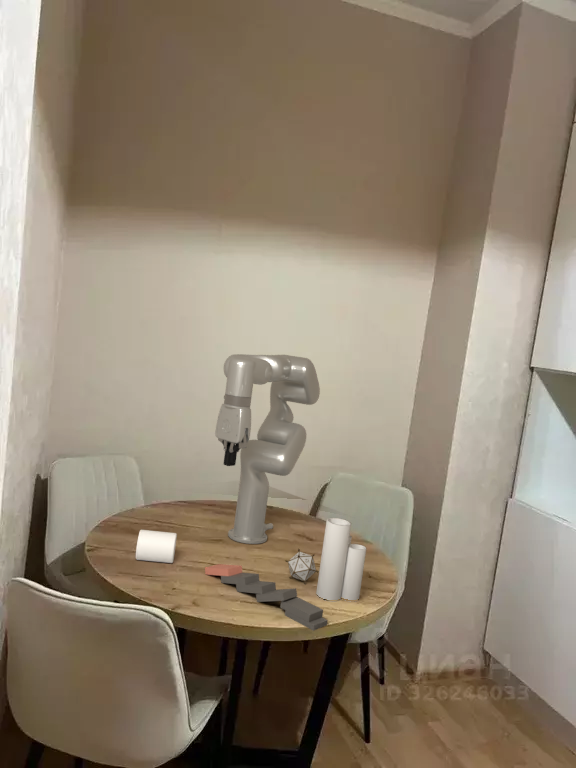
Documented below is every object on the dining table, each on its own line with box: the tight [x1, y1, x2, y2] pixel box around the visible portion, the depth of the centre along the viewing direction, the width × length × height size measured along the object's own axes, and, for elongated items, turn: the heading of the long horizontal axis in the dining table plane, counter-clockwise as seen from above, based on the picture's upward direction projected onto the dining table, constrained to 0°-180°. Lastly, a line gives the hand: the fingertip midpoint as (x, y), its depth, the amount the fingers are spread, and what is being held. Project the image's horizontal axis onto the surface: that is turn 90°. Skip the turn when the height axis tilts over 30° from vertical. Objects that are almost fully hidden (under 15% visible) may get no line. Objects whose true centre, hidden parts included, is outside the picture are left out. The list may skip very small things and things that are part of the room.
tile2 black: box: [220, 572, 260, 585], centre depth 167 cm, size 5×2×9 cm
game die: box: [284, 547, 319, 585], centre depth 176 cm, size 9×8×10 cm
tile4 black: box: [255, 588, 298, 603], centre depth 158 cm, size 5×2×9 cm
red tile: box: [204, 563, 243, 577], centre depth 171 cm, size 5×2×9 cm
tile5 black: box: [279, 596, 324, 622], centre depth 154 cm, size 5×2×9 cm
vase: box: [315, 517, 367, 601], centre depth 169 cm, size 11×7×20 cm, turn 107°
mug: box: [135, 529, 178, 564], centre depth 179 cm, size 12×10×8 cm
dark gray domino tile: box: [235, 580, 277, 594], centre depth 163 cm, size 5×2×9 cm
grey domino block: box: [284, 610, 328, 632], centre depth 153 cm, size 5×2×9 cm
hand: (229, 465), depth 184 cm, fingers closed
